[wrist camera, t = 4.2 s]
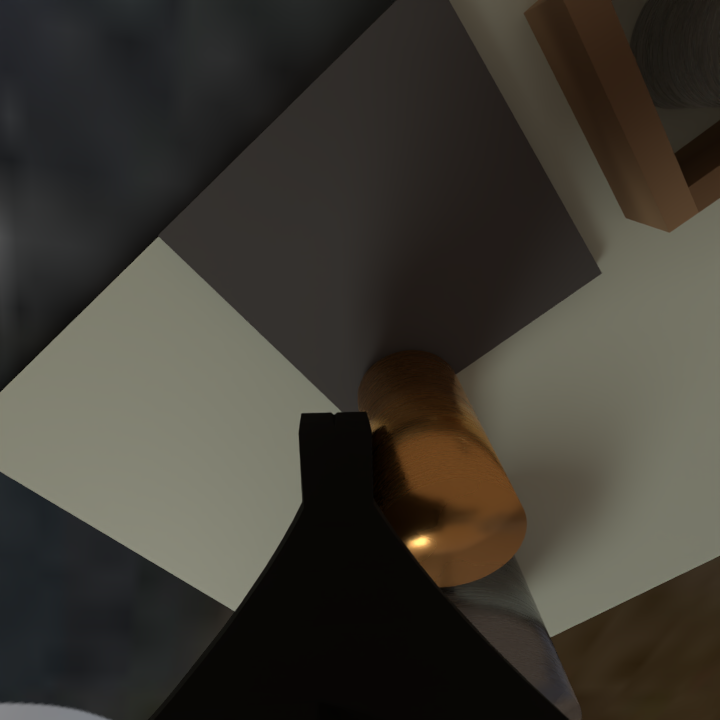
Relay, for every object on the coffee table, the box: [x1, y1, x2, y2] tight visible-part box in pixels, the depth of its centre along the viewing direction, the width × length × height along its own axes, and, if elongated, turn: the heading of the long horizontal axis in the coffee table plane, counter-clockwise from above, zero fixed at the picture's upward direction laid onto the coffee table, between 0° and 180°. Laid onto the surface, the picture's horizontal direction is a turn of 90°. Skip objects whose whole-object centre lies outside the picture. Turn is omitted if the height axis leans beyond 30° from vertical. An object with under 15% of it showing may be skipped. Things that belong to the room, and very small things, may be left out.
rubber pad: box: [158, 0, 602, 412], centre depth 10 cm, size 7×7×1 cm
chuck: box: [439, 555, 582, 720], centre depth 13 cm, size 6×6×6 cm
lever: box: [358, 350, 527, 587], centre depth 10 cm, size 6×3×4 cm, turn 10°
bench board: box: [0, 0, 720, 637], centre depth 14 cm, size 20×22×1 cm
